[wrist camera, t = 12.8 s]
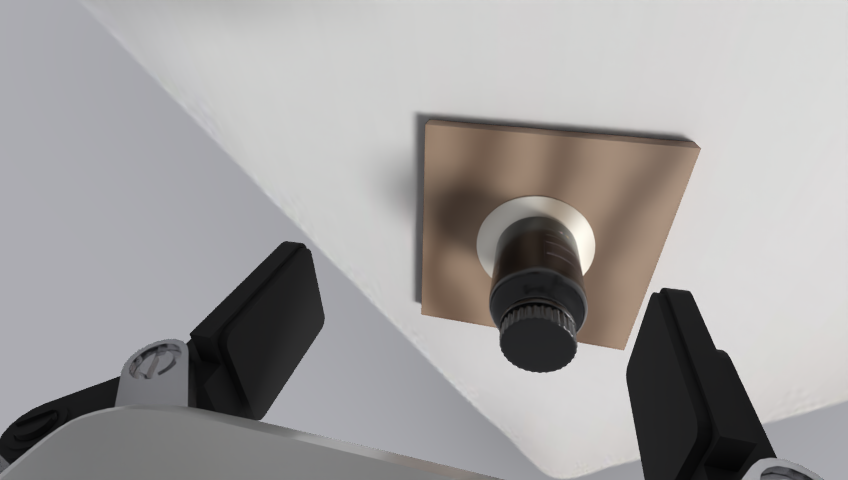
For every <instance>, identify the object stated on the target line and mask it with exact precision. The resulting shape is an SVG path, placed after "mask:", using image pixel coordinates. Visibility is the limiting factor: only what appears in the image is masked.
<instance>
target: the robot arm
mask: <svg viewBox="0 0 848 480" xmlns="http://www.w3.org/2000/svg"><path fill="white" fill-rule="evenodd" d="M324 319H325V317H324V312H323V306H322V302H321V297H320V292H319V288H318V283H317V278H316V273H315V268H314V263H313V259H312V254H311V251H310V250H309V249H307V248H306V246H305V245H304V244H303V243H296V242H288V241H285V242H283V243H281V244H280V245H279V246H278V247H277V249H275V250H274V251H273V252H272V254H270V255H269V256H268V257H267V258H266V259H265V260H264V261H263V262H262V263H261V264H260V265H259V266H258V267H257V268H256V269H255V270H254V271H253V272H252V273H251V274H250V275H249V276H248V277H247V278H246V279H245V280H244V281H243V282H242V283H241V284H240V285H239V286H238V287H237V288H236V289H235V290H234V291H233V292H232V293H231V294H230V295H229V296H228V297H227V298H226V299H225V300H224V301H222V302H221V304H219V305H218V306H217V307H216V308H215V309H214V310H213V311H212V312H211V313H210V314H209V315H208V316H207V317H206V318H205V319H204V320H203V321H202V322H201V323H200V324H199V325H198V326H197V327H196V328H195V329H194V330H193V331H192V332H191V333H190V336H191V338H192V339H191V340H190V341H189V342H188V343H187V344H185V343H184V342H183V341H180V340H177V339H166V340H162V341H157V342H154V343H152V344H149V345H147V346H146V347H144V348H142V349H140V350H138V351H137V352H136V353H135V354H133V355H132V356H131V357H130V358H129V359H128V360H127V362H126V363H125V364H124V366H123V369H122V371H121V376H119V377H117V378H114V379H111V380H108V381H106V382H103V383H100V384H98V385H95V386H92V387H89V388H86V389H84V390H81V391H79V392H75V393H73V394H70V395H67V396H65V397H62V398H59V399H57V400H54V401H51V402H48V403H45V404H43V405H41V406H39V407H36V408H34V409H32V410H30V411H29V412H28V413H26V414H24V415H22V416H21V417H20V418H18V419H17V420H16V421H15V422H14V423H12V424H11V425H10V426H9V428H7V430H6V431H5V432H4V433H3V434H2V436H1V438H0V480H503V479H499V478H494V477H491V476H487V475H483V474H478V473H474V472H470V471H466V470H462V469H458V468H454V467H449V466H445V465H441V464H437V463H433V462H429V461H424V460H420V459H416V458H412V457H408V456H404V455H399V454H396V453H391V452H387V451H383V450H379V449H374V448H370V447H366V446H362V445H358V444H353V443H349V442H345V441H341V440H337V439H332V438H328V437H324V436H319V435H315V434H311V433H306V432H302V431H298V430H293V429H289V428H285V427H281V426H276V425H272V424H268V423H264V422H259V421H258V420H261V419H262V418H263V417H264V416H265V414H266V413H267V411H268V410H269V408H270V407H271V405H272V404H273V402H274V400H275V399H276V398H277V396H278V394H279V393H280V391H281V390H282V388H283V387H284V385H285V384H286V382H287V381H288V379H289V378H290V376H291V375H292V373H293V372H294V370H295V368H296V367H297V365H298V364H299V362H300V361H301V359H302V358H303V356H304V355H305V353H306V352H307V350H308V349H309V347H310V345H311V344H312V343H313V341H314V340H315V338H316V336H317V335H318V333H319V332H320V330H321V329H322V327H323V324H324ZM626 380H627V386H628V391H629V397H630V402H631V407H632V413H633V418H634V424H635V429H636V435H637V440H638V445H639V451H640V456H641V462H642V467H643V472H644V478H645V480H824V479H822V478H821V477H820V476H818V475H817V474H816V473H814V472H812V471H810V470H808V469H807V468H805V467H803V466H801V465H799V464H796V463H793V462H790V461H788V460H784V459H777V457H776V455H775V453H774V451H773V448H772V446H771V444H770V442H769V440H768V438H767V436H766V433H765V431H764V429H763V427H762V425H761V423H760V420H759V418H758V416H757V414H756V412H755V410H754V408H753V406H752V403H751V401H750V399H749V397H748V395H747V393H746V391H745V388H744V386H743V384H742V382H741V380H740V378H739V376H738V373H737V371H736V369H735V367H734V365H733V363H732V361H731V359H730V357H729V355H728V354H727V353H726V352H725V351H723V350H717V349H716V348H715V345H714V343H713V341H712V339H711V336H710V334H709V332H708V329H707V327H706V325H705V323H704V320H703V318H702V316H701V314H700V311H699V309H698V307H697V305H696V302H695V300H694V298H693V295H692V294H691V292H690V291H686V290H678V289H670V288H662V289H661V291H660V293H655V292H654V293H652V295H651V297H650V300H649V303H648V306H647V309H646V312H645V315H644V318H643V321H642V324H641V327H640V330H639V333H638V336H637V339H636V342H635V345H634V348H633V351H632V354H631V357H630V360H629V363H628V366H627V371H626Z"/></svg>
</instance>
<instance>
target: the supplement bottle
mask: <svg viewBox="0 0 848 480" xmlns="http://www.w3.org/2000/svg"><path fill="white" fill-rule="evenodd" d="M489 312H490V316H491V318H492V320H493V322H494V324H495V326H496V327H497V328H498V330H499V331H500V347H501V351H502V352H503V353H504V356H505V357H506V358H507V359H508V361H510V362H511V363H512V364H513V365H515V366H517V367H518V368H521V369H524V370H526V371H531V372H538V373H542V372H546V373H547V372H550V371H556V370H559V369H561V368H562V367H565V366H566V365H567V364H568V363H570V362H571V360H572V359H573V358H574V356H575V354H576V352H577V338H576V336H577V333H578V332H579V331H580V330H581V328H582V327H583V325H584V323H585V321H586V318H587V314H588V303H587V296H586V290H585V285H584V279H583V273H582V268H581V262H580V257H579V251H578V247H577V243H576V240H575V238H574V236H573V234H572V233H571V232H570V230H569V229H568V228H567V227H566V226H564V225H563V224H562V223H560V222H558V221H556V220H554V219H551V218H547V217H540V216H534V217H527V218H523V219H520V220H518V221H516V222H514V223H512V224H511V225H509V226H508V227H507V228H506V229H505V230H504V231H503V233H502V234H501V236H500V237H499V240H498V243H497V247H496V252H495V259H494V267H493V274H492V281H491V288H490V295H489Z"/></svg>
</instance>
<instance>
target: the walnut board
mask: <svg viewBox="0 0 848 480" xmlns="http://www.w3.org/2000/svg"><path fill="white" fill-rule="evenodd" d="M700 150H701V148H700V147H699V146H698V145H697V144H696V143H695V142H688V141H676V140H665V139H653V138H641V137H629V136H618V135H606V134H594V133H583V132H571V131H559V130H547V129H536V128H524V127H512V126H500V125H489V124H477V123H465V122H453V121H442V120H430V119H429V121H428V122H427V123H426V124H425V162H424V211H423V259H422V308H421V314H422V315H428V316H433V317H439V318H444V319H450V320H456V321H461V322H467V323H473V324H478V325H484V326H490V327H495V328H497V327H496V326H495V324H494V322H493V320H492V318H491V316H490V312H489V295H490V288H491V281H492V274H493V267H494V259H495V252H496V247H497V243H498V240H499V237H500V236H501V234H502V233H503V231H504V230H505V229H506V228H507V227H508V226H509V225H511V224H512V223H514V222H516V221H518V220H520V219H523V218H527V217H534V216H540V217H547V218H551V219H554V220H556V221H558V222H560V223H562V224H563V225H564V226H566V227H567V228H568V229H569V230H570V232H571V233H572V234H573V236H574V238H575V240H576V243H577V247H578V251H579V257H580V262H581V268H582V273H583V279H584V285H585V290H586V296H587V303H588V314H587V318H586V321H585V323H584V325H583V327H582V328H581V330H580V331H579V332H578V333H577V336H576V338H577V342H580V343H586V344H591V345H597V346H603V347H608V348H614V349H619V350H624V349H625V346H626V343H627V341H628V338H629V336H630V333H631V330H632V328H633V325H634V323H635V320H636V317H637V315H638V312H639V309H640V307H641V304H642V302H643V299H644V296H645V294H646V291H647V288H648V286H649V283H650V281H651V278H652V275H653V273H654V270H655V268H656V265H657V262H658V260H659V257H660V254H661V252H662V249H663V247H664V244H665V241H666V239H667V236H668V234H669V231H670V228H671V226H672V223H673V220H674V218H675V215H676V213H677V210H678V207H679V205H680V202H681V199H682V197H683V194H684V192H685V189H686V186H687V184H688V181H689V179H690V176H691V173H692V171H693V168H694V165H695V163H696V160H697V158H698V155H699V152H700Z"/></svg>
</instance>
